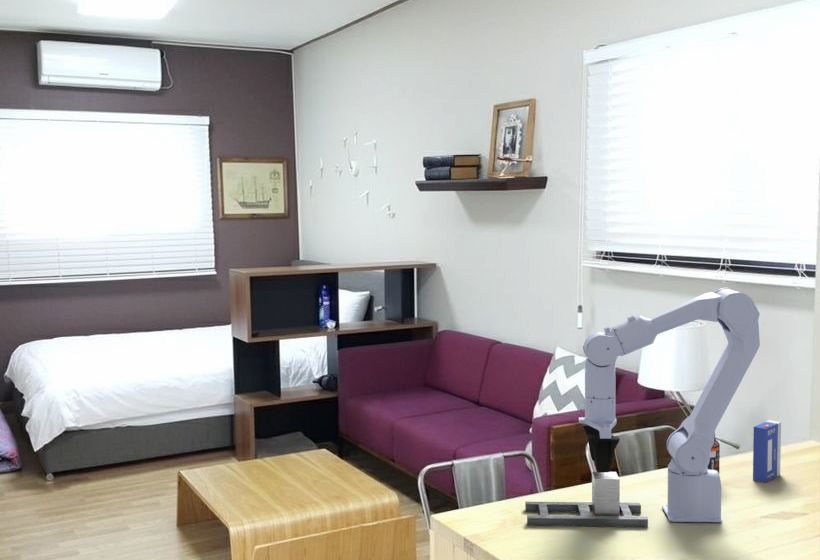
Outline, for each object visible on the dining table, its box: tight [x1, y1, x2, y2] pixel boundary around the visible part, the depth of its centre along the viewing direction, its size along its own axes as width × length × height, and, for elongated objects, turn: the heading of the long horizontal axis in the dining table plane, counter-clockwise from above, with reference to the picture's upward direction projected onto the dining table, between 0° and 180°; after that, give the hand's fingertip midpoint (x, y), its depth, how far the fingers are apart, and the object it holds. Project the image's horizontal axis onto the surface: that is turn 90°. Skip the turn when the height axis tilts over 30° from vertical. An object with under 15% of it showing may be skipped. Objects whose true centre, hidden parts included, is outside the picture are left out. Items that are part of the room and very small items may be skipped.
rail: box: [524, 501, 649, 528], centre depth 166 cm, size 22×9×2 cm, turn 85°
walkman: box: [752, 419, 782, 483], centre depth 187 cm, size 8×3×12 cm, turn 134°
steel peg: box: [591, 471, 621, 516], centre depth 165 cm, size 4×4×8 cm
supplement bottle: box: [707, 435, 721, 474], centre depth 185 cm, size 6×6×11 cm
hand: (600, 465), depth 167 cm, fingers open, 7 cm apart
